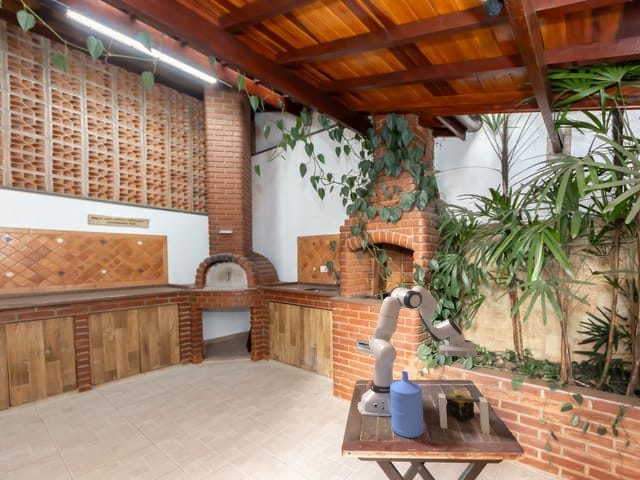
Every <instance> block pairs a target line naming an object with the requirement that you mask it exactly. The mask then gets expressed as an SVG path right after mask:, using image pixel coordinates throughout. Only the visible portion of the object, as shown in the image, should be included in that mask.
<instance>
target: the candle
mask: <svg viewBox="0 0 640 480" xmlns="http://www.w3.org/2000/svg"><path fill="white" fill-rule="evenodd" d="M445 396H446V397H457V398H467V399H473V397H470V396H468V395H466V394H464V393H463V392H461V391H457V392H453V393H449V394H445ZM446 415H449V416H450V417H452V418H453V419H456V420H457V421H458V422H461V423H462V422H465V421H469V420H472V419H475V402H470V401H460V400H450V399H446Z"/></svg>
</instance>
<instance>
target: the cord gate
mask: <svg viewBox="0 0 640 480" xmlns="http://www.w3.org/2000/svg"><path fill="white" fill-rule="evenodd" d="M446 399H450V400H460V401H470V402H474V403H478V406H479V407H478V408H479V409H478V410H479V421H480V422H479V424H480V425H479V426H480V429H481V431H482V434H486V435H487V434H489V435H490V419H489V418H490V417H489V402H488V400H487V398H486V397H485V396H478V399H474V398H472V399H467V398H457V397H446V394H445V393H442V392H438V408H439V409H438V411H439V424H440V428H442V429H448V420H447V418H448V417H447V415H448V414H447V413H446V406H447V400H446Z"/></svg>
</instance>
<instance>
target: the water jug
mask: <svg viewBox="0 0 640 480" xmlns="http://www.w3.org/2000/svg"><path fill="white" fill-rule="evenodd" d="M422 391H423V389H422V387H421V385H420V384H419V383H416V382H413V381H412V380H409V371H405V370H404V371H403V370H402V371H401V380H397V381H393V383H392V384H391V385H390V395H391V429H392V430H393V432H394V433H396V434H397V435H399V436H401V437H404V438H410V439H413V438H417V437H420V436H422V435H423V433H424V432H425V425H424V408H423V392H422Z"/></svg>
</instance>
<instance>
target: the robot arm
mask: <svg viewBox="0 0 640 480" xmlns="http://www.w3.org/2000/svg"><path fill="white" fill-rule="evenodd" d="M402 308H406V309H410V310H415V309H419V311H418V316H419V318H420V321H421V322H422V324H423V325H424V327H425V328H426V330H427V332H428V333H429V336H430V338H431V340H432V341H434V342H437V343H441V342H443V341H444V340H446V339H448V338H449V344H441V345H440V346H438V353H439V356H442V357H443V356H444V357H447V359H451V357H465V359H466V360H468V359H469V358H470V357H477V356H478V353H477V348H476V345H475V344H474V342H473V340H469V339H466V338H465V337H466V336H465V335H464V332H463V331H462V327H461V326H460V324H459V322H457V321H456V320H455V319H452V318H448V319H446V320H443V321H441V322H439V323H437V324H435V325H433V324H432V322H431V320H430V318H431V317H432V316H433V314H435V312H436V311H437V309H438V301H437V300H436V298H435V297H434V296H433V295H432V294H431V293H430V291H428V290H427V289H426V288H424V287H423V286H422V285H415V286H413V287H412V288H411V289H409V288H406V287H400V286H396V287H393V288H392V289H391V290H390V292H389V294H388V296H387V297H385V298H384V299H383V301H382V304H381V306H380V310H379V313H378V318H377V321H376V322H377V323H376V327H375V329H374V331H373V334H372V336H371V338H370V339H369V341H368V347H369V350H370V352H371V354H373V355H374V359H375V361H374V366H373V368H372V372H373V374H372V375H373V376H372V377H373V381H371V380H369V381H368V383H367V384H368V386H369V387H370V388H369V389H368V390H367V391H366V392H364V393H363V394H362V395H361V399H360V400H361V401H358V403H357V406H358V407H357V411H358V410H359V411H358V412H359V413H360V415H362V416H371V417H373V416H374V417H390V416H391V395H390V385H391V384H392V383H393V382H394V374H393V373H394V363H395V360H396V358H397V350H396V349H395V347H394V345H393V344H392V343H391V339H392V337H393V335H394V334H395V332H396V331H397V326H398V322H399V316H400V310H401V309H402ZM391 417H392V416H391Z"/></svg>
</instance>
